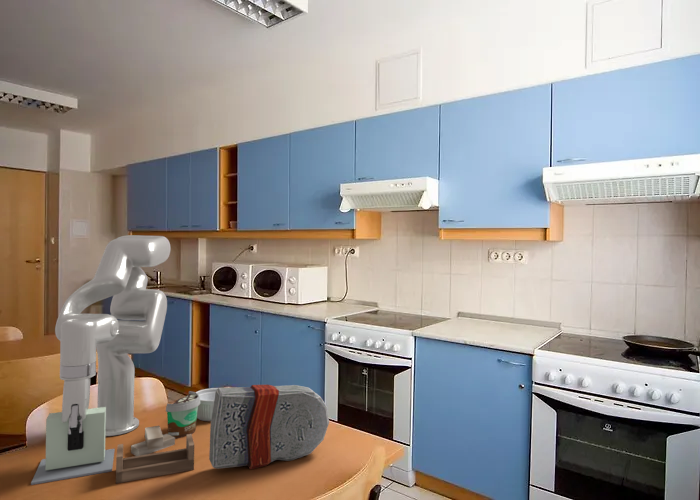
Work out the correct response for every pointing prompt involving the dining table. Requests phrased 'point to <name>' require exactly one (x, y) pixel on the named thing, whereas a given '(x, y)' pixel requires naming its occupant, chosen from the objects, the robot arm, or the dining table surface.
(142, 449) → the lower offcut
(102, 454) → the sheet
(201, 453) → the dining table surface
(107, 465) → the mat
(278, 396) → the decorative stone tablet
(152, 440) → the upper offcut
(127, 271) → the robot arm
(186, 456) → the rack
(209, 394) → the ramekin
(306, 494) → the dining table surface
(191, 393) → the food container
